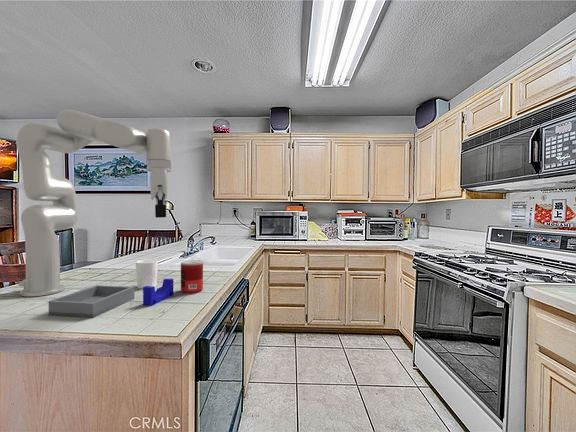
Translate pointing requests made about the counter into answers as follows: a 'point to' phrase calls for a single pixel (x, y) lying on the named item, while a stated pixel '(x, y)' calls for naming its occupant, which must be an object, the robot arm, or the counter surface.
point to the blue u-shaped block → (157, 293)
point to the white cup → (146, 273)
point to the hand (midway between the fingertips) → (160, 217)
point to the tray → (91, 301)
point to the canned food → (191, 276)
